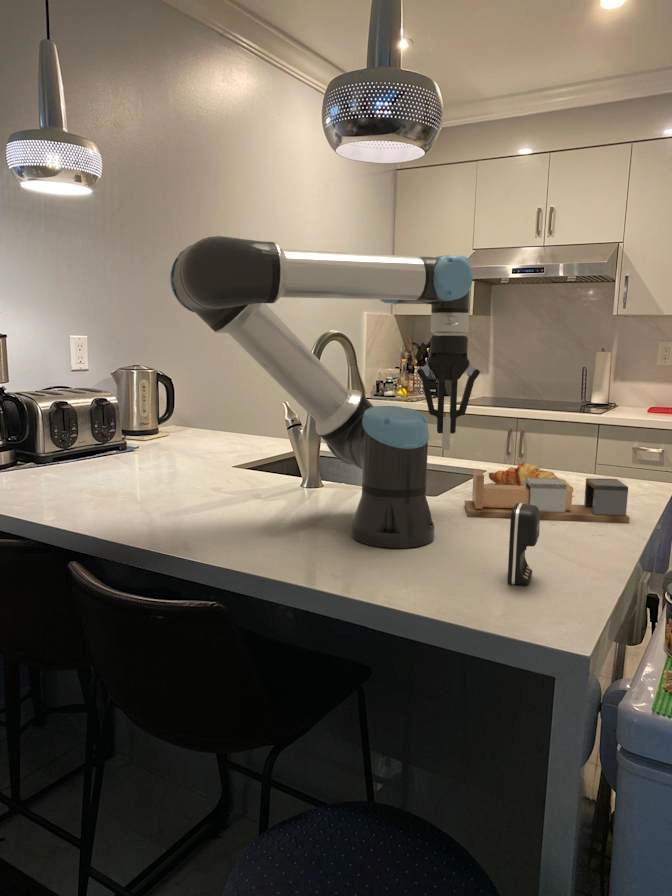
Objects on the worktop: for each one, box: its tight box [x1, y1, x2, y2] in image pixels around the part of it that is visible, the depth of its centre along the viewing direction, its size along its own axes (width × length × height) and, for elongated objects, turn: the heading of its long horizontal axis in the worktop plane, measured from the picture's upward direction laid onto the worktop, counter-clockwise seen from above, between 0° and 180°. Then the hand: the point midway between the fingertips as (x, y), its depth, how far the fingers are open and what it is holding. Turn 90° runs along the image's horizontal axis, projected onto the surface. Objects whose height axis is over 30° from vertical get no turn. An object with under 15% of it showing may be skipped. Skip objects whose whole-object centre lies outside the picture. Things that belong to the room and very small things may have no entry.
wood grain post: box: [471, 468, 573, 510], centre depth 141 cm, size 20×7×7 cm, turn 84°
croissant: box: [488, 462, 574, 493], centre depth 163 cm, size 21×10×8 cm, turn 54°
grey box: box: [583, 477, 629, 516], centre depth 139 cm, size 6×8×6 cm
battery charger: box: [506, 503, 541, 586], centre depth 102 cm, size 7×4×11 cm, turn 159°
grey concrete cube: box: [525, 478, 567, 513], centre depth 140 cm, size 7×7×6 cm
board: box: [464, 500, 630, 524], centre depth 141 cm, size 32×9×1 cm, turn 84°
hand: (445, 448), depth 141 cm, fingers closed
